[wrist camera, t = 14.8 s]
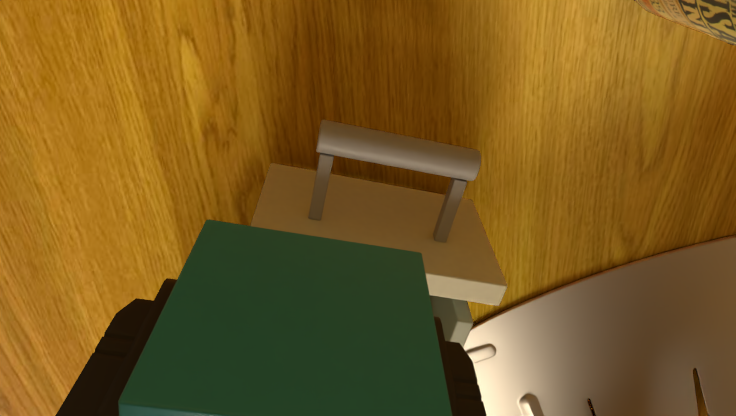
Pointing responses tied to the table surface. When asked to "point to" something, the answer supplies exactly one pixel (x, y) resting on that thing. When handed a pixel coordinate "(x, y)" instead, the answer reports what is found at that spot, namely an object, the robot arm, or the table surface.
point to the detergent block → (291, 331)
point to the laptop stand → (618, 341)
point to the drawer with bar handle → (394, 213)
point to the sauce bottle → (698, 15)
